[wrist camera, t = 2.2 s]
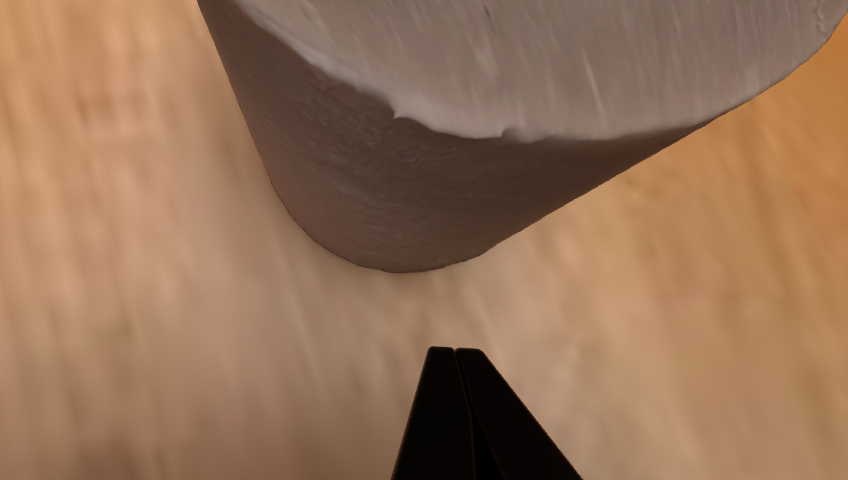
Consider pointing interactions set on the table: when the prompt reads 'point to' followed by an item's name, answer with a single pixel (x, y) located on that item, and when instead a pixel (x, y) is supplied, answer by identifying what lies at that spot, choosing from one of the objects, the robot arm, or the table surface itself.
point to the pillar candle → (484, 104)
